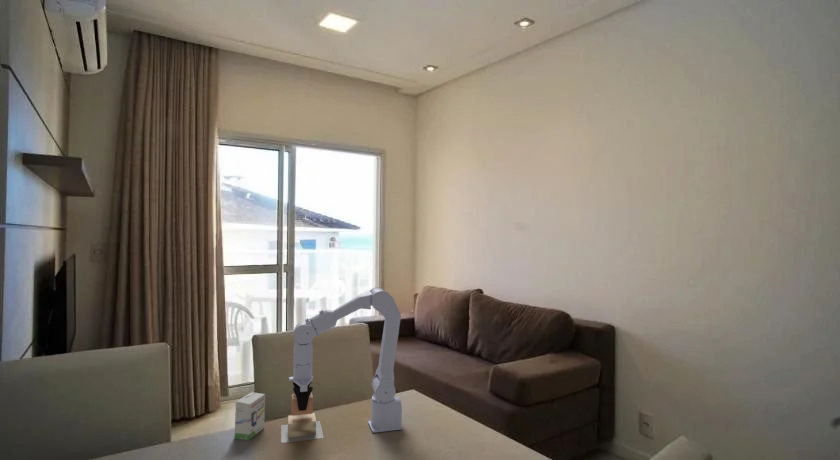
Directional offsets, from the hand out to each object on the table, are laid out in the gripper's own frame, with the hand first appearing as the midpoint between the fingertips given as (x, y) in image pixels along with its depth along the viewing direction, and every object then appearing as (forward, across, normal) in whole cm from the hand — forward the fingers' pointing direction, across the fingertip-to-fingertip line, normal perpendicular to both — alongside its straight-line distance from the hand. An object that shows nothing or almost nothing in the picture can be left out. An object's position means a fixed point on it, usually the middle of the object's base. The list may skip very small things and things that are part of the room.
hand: (302, 407), depth 136 cm
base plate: (+8, 0, 0) cm, 8 cm away
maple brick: (+7, 0, 0) cm, 7 cm away
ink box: (+9, -3, -15) cm, 18 cm away
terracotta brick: (+2, 0, 0) cm, 2 cm away
